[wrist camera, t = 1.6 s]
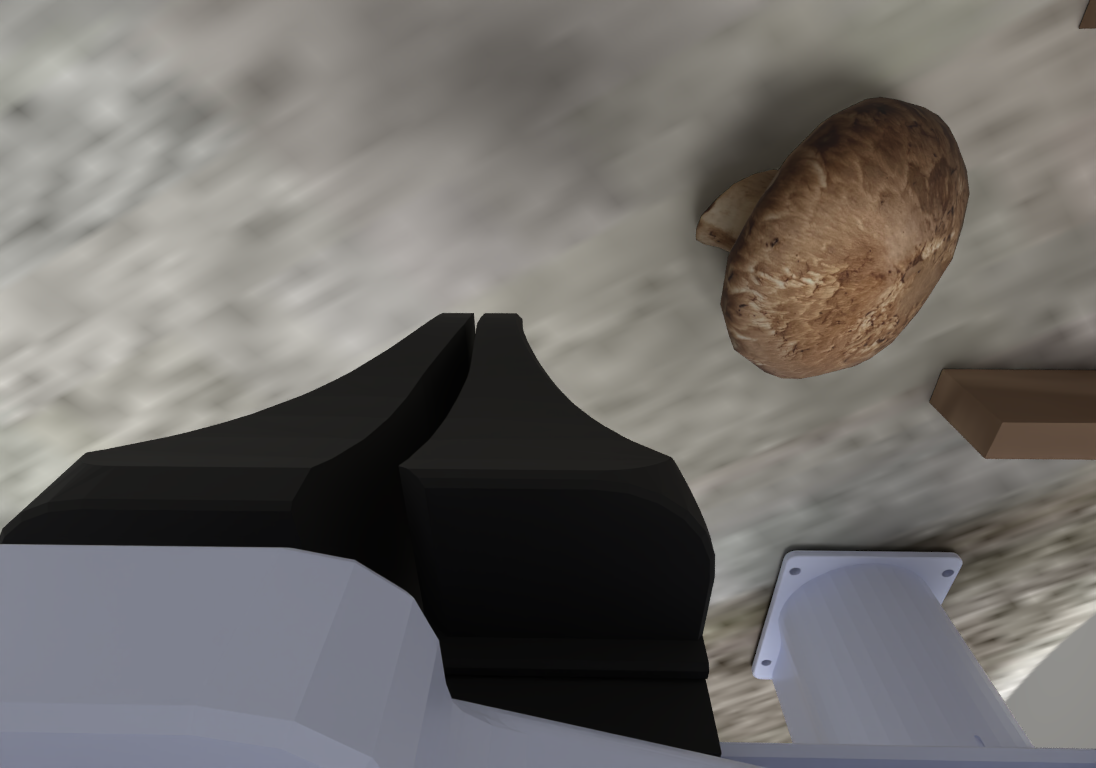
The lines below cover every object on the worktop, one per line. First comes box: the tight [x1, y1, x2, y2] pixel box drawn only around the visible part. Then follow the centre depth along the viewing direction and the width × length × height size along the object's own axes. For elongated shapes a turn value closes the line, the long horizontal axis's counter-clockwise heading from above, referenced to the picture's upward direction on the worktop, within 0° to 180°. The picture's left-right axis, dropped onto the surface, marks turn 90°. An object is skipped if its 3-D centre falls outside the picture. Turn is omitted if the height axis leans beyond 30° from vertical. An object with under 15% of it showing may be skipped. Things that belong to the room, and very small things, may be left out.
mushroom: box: [696, 97, 969, 379], centre depth 17 cm, size 8×8×6 cm
